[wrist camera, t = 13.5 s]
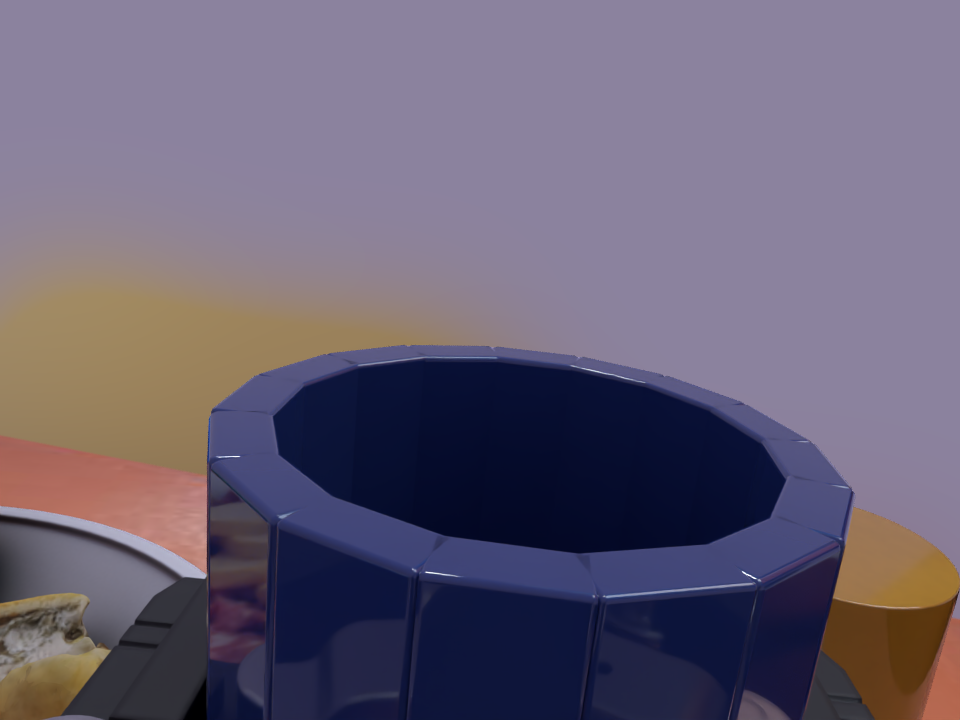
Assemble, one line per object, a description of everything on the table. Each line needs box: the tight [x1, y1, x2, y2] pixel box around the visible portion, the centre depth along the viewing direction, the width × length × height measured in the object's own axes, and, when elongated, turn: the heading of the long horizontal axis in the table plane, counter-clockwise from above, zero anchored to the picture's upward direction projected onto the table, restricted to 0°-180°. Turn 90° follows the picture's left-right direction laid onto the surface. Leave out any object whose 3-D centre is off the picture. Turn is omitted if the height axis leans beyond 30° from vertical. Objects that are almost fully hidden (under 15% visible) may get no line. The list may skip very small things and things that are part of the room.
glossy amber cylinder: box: [821, 507, 960, 720], centre depth 23 cm, size 6×6×10 cm
